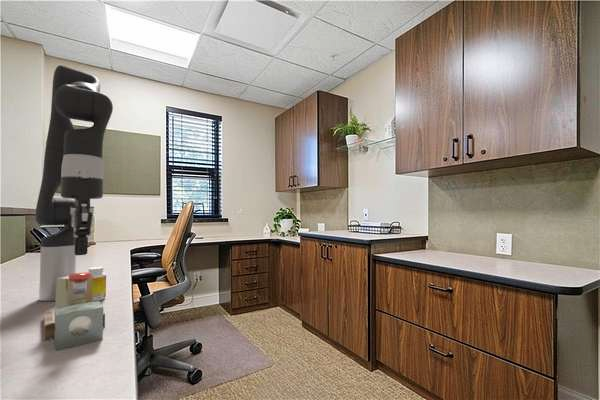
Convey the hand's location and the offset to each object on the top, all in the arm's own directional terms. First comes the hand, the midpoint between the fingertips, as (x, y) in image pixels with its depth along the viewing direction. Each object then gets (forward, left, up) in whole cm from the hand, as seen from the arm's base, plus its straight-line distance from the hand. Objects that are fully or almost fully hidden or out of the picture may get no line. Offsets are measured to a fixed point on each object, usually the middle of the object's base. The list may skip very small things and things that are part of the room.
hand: (80, 254), depth 64 cm
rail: (-15, 0, -19) cm, 24 cm away
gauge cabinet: (0, 0, -19) cm, 19 cm away
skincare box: (-11, 0, -19) cm, 22 cm away
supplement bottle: (-35, +7, -19) cm, 40 cm away
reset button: (0, 0, -8) cm, 8 cm away
